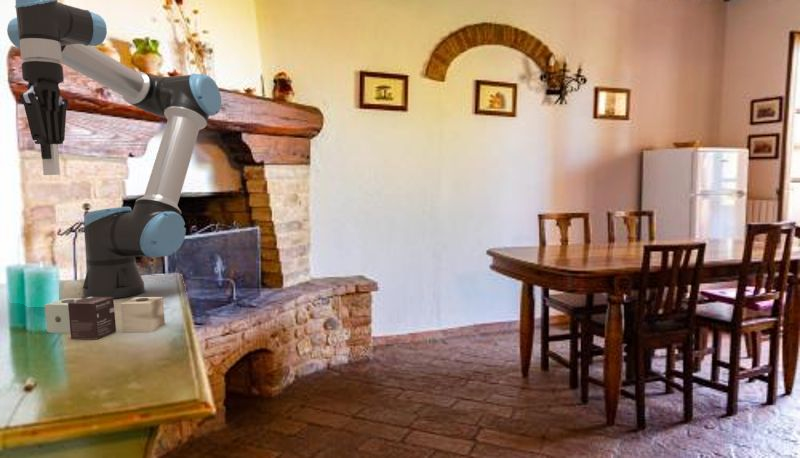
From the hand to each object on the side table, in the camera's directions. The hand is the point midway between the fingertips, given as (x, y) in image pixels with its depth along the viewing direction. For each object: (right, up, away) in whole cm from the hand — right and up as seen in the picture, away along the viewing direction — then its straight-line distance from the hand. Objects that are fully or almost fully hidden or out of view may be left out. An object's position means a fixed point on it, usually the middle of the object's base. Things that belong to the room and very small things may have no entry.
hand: (51, 174), depth 130 cm
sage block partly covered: (+6, -33, -3) cm, 33 cm away
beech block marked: (+22, -32, -4) cm, 39 cm away
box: (+13, -33, -8) cm, 37 cm away
